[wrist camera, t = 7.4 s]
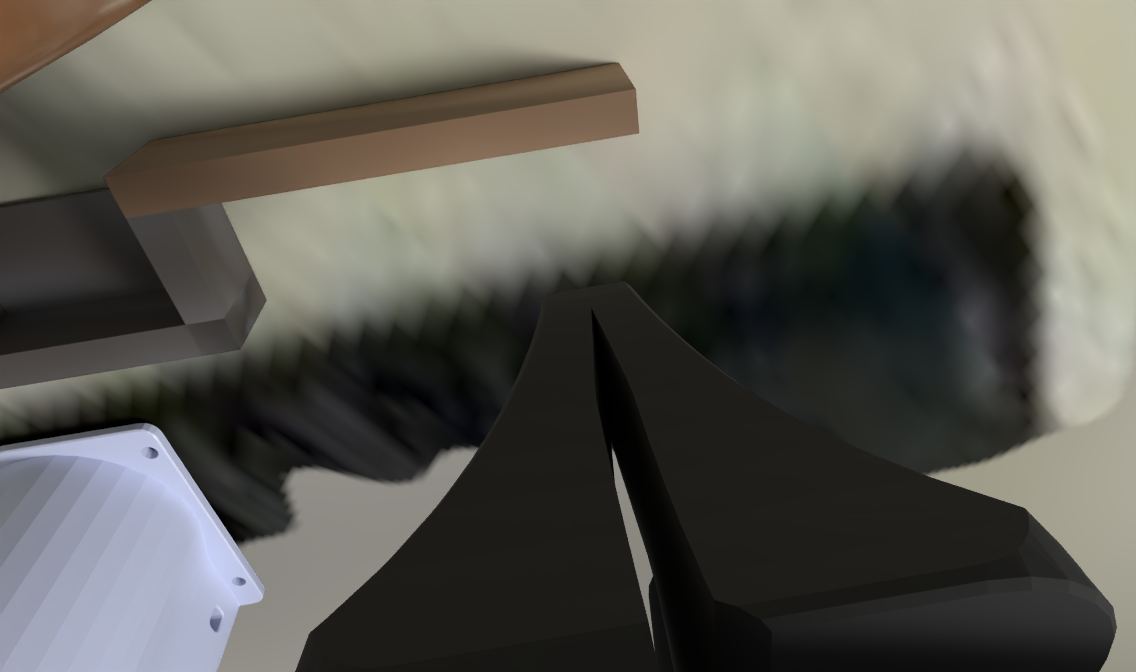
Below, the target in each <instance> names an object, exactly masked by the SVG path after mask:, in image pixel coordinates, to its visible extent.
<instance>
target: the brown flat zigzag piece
mask: <svg viewBox="0 0 1136 672" xmlns="http://www.w3.org/2000/svg"><path fill="white" fill-rule="evenodd" d="M638 133H639V125H638V112H637V99H636V89H635V87H634V86H633V84H632V82H631V81H630V79H629V78H628V76H627V75H626V73H625V72H624V70H623V69H622V67H621V65H620V64H619V63H614V64H608V65H602V66H596V67H590V68H584V69H578V70H572V71H566V72H560V73H554V74H548V75H542V76H536V77H530V78H524V79H518V80H512V81H506V82H500V83H494V84H488V85H482V86H476V87H470V88H464V89H458V90H452V91H446V92H440V93H434V94H428V95H422V96H416V97H410V98H404V99H398V100H392V101H386V102H380V103H374V104H368V105H362V106H356V107H350V108H344V109H338V110H332V111H326V112H320V113H314V114H308V115H302V116H296V117H290V118H284V119H278V120H272V121H266V122H260V123H254V124H248V125H242V126H236V127H230V128H224V129H218V130H212V131H206V132H200V133H194V134H188V135H182V136H176V137H170V138H164V139H158V140H152V141H149V142H148V143H147V144H145V145H144V146H143V147H142V148H140V149H139V150H138V151H136V152H135V153H134V154H133V155H131V156H130V157H129V158H127V159H126V160H125V161H124V162H122V163H121V164H120V165H118V166H117V167H116V168H115V169H113V170H112V171H111V172H109V173H108V174H107V175H106V176H104V177H103V179H104V180H105V182H106V184H107V186H108V188H106V189H100V190H94V191H88V192H82V193H76V194H70V195H64V196H58V197H52V198H46V199H40V200H34V201H28V202H22V203H16V204H10V205H4V206H0V389H4V388H10V387H16V386H22V385H29V384H35V383H41V382H47V381H53V380H59V379H65V378H71V377H77V376H83V375H89V374H95V373H101V372H107V371H113V370H120V369H126V368H132V367H138V366H144V365H150V364H156V363H162V362H168V361H174V360H180V359H186V358H192V357H198V356H204V355H211V354H217V353H223V352H229V351H235V350H240V349H241V347H242V346H243V344H244V342H245V340H246V338H247V336H248V334H249V332H250V331H251V329H252V327H253V325H254V323H255V321H256V319H257V317H258V316H259V314H260V312H261V310H262V308H263V306H264V304H265V302H266V301H267V300H266V298H265V296H264V294H263V291H262V289H261V287H260V285H259V283H258V281H257V279H256V276H255V274H254V272H253V270H252V268H251V266H250V264H249V262H248V259H247V257H246V255H245V253H244V251H243V249H242V247H241V244H240V242H239V240H238V238H237V236H236V234H235V232H234V229H233V227H232V225H231V223H230V221H229V219H228V217H227V214H226V212H225V210H224V208H223V206H222V204H221V203H222V202H228V201H234V200H240V199H246V198H252V197H258V196H264V195H270V194H276V193H282V192H288V191H294V190H301V189H307V188H313V187H319V186H325V185H331V184H337V183H343V182H349V181H355V180H361V179H367V178H373V177H379V176H385V175H391V174H397V173H403V172H409V171H415V170H421V169H427V168H433V167H439V166H445V165H451V164H457V163H463V162H469V161H475V160H481V159H487V158H493V157H499V156H505V155H511V154H517V153H523V152H529V151H535V150H541V149H548V148H554V147H560V146H566V145H572V144H578V143H584V142H590V141H596V140H602V139H608V138H614V137H620V136H626V135H632V134H638Z"/></svg>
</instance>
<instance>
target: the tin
mask: <svg viewBox="0 0 1136 672" xmlns="http://www.w3.org/2000/svg"><path fill="white" fill-rule="evenodd" d="M150 1H151V0H0V93H1V92H3V91H5V90H6V89H8V88H10V87H11V86H13V85H15V84H16V83H18V82H20V81H21V80H23V79H25V78H27V77H28V76H30V75H32V74H33V73H35V72H37V71H38V70H40V69H42V68H43V67H45V66H47V65H49V64H50V63H52V62H54V61H55V60H57V59H59V58H60V57H62V56H64V55H65V54H67V53H69V52H71V51H72V50H74V49H76V48H77V47H79V46H81V45H82V44H84V43H86V42H87V41H89V40H91V39H92V38H94V37H96V36H97V35H99V34H100V33H102V32H103V31H105V30H106V29H108V28H110V27H111V26H113V25H114V24H116V23H117V22H119V21H120V20H122V19H124V18H125V17H127V16H128V15H130V14H131V13H133V12H134V11H136V10H137V9H139V8H141V7H142V6H144V5H145V4H147V3H148V2H150Z"/></svg>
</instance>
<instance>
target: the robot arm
mask: <svg viewBox="0 0 1136 672" xmlns="http://www.w3.org/2000/svg"><path fill="white" fill-rule="evenodd" d="M611 442H612V446H613V449H614V452H615V455H616V458H617V461H618V465H619V468H620V470H621V474H622V477H623V480H624V483H625V486H626V489H627V492H628V495H629V499H630V502H631V505H632V508H633V511H634V514H635V517H636V520H637V523H638V527H639V530H640V533H641V536H642V539H643V542H644V545H645V549H646V552H647V554H648V558H649V562H650V566H651V569H652V573H653V576H654V580H655V584H656V588H657V593H658V598H659V602H660V607H661V611H662V616H663V621H664V625H665V630H666V634H667V639H668V643H669V648H670V653H671V657H672V662H673V667H674V671H675V672H1099V671H1100V670H1101V668H1102V666H1103V664H1104V663H1105V661H1106V659H1107V657H1108V654H1109V651H1110V648H1111V645H1112V643H1113V640H1114V637H1115V633H1116V628H1117V626H1116V620H1115V615H1114V609H1113V606H1112V605H1111V604H1110V603H1109V601H1108V600H1107V599H1106V598H1105V597H1104V596H1103V594H1102V593H1101V592H1100V591H1099V590H1098V589H1097V587H1096V586H1095V585H1094V584H1093V583H1092V582H1091V580H1090V579H1089V578H1088V577H1087V576H1086V575H1085V573H1084V572H1083V571H1082V569H1081V568H1080V567H1079V566H1078V564H1077V563H1076V562H1075V561H1074V560H1073V558H1072V557H1071V556H1070V555H1069V554H1068V553H1067V551H1065V549H1064V548H1063V547H1062V546H1061V544H1059V542H1057V540H1055V538H1054V537H1053V536H1052V535H1051V534H1050V533H1049V532H1047V530H1046V529H1045V528H1044V527H1043V526H1042V525H1041V524H1040V523H1039V522H1038V521H1037V520H1036V519H1035V518H1034V517H1033V516H1032V515H1031V514H1030V513H1029V512H1028V511H1027V510H1026V509H1025V508H1023V507H1020V506H1017V505H1014V504H1011V503H1008V502H1005V501H1001V500H998V499H995V498H992V497H989V496H986V495H983V494H980V493H977V492H974V491H971V490H968V489H965V488H962V487H959V486H955V485H952V484H949V483H946V482H943V481H940V480H937V479H934V478H931V477H928V476H926V475H923V474H920V473H918V472H915V471H913V470H910V469H908V468H905V467H903V466H900V465H898V464H895V463H893V462H890V461H888V460H885V459H883V458H880V457H878V456H875V455H873V454H870V453H868V452H866V451H863V450H861V449H859V448H857V447H854V446H852V445H850V444H848V443H845V442H843V441H841V440H839V439H837V438H835V437H833V436H831V435H829V434H827V433H825V432H823V431H821V430H819V429H817V428H815V427H813V426H811V425H809V424H807V423H805V422H803V421H801V420H799V419H797V418H795V417H793V416H791V415H790V414H788V413H786V412H784V411H782V410H781V409H779V408H777V407H775V406H774V405H772V404H770V403H769V402H767V401H766V400H764V399H762V398H761V397H759V396H757V395H756V394H754V393H753V392H751V391H749V390H748V389H747V388H745V387H744V386H742V385H741V384H739V383H738V382H736V381H735V380H734V379H732V378H731V377H729V376H728V375H727V374H725V373H724V372H723V371H721V370H720V369H719V368H718V367H716V366H715V365H714V364H712V363H711V362H710V361H708V360H707V359H706V358H705V357H703V356H702V355H701V354H700V353H699V352H697V351H696V350H695V349H694V348H693V347H691V346H690V345H689V344H688V343H687V342H686V341H685V340H684V339H682V338H681V337H680V336H679V335H678V334H677V333H676V332H674V331H673V330H672V329H671V328H670V327H669V326H668V325H667V324H666V323H665V322H664V321H663V320H662V319H661V318H660V317H659V316H658V315H657V314H656V313H655V312H654V311H653V310H652V309H651V308H650V307H649V306H648V305H647V304H646V303H645V302H644V301H643V300H642V299H641V298H640V296H639V295H638V294H637V293H636V292H635V291H634V289H633V288H632V287H631V286H630V285H628V284H627V283H625V282H624V281H622V282H616V283H610V284H605V285H599V286H593V287H587V288H582V289H576V290H570V291H564V292H559V293H553V294H547V296H546V297H545V298H544V299H543V301H542V302H541V310H540V315H539V319H538V323H537V327H536V330H535V333H534V336H533V339H532V342H531V345H530V348H529V350H528V353H527V355H526V358H525V360H524V363H523V365H522V368H521V370H520V373H519V375H518V377H517V379H516V381H515V383H514V386H513V388H512V390H511V392H510V394H509V396H508V398H507V400H506V402H505V404H504V406H503V408H502V410H501V412H500V414H499V415H498V417H497V419H496V421H495V423H494V424H493V426H492V428H491V429H490V431H489V433H488V435H487V436H486V438H485V439H484V441H483V443H482V444H481V446H480V447H479V449H478V450H477V452H476V453H475V455H474V457H473V458H472V460H471V461H470V462H469V464H468V465H467V467H466V468H465V469H464V471H463V472H462V474H461V475H460V476H459V478H458V479H457V481H456V482H455V483H454V485H453V486H452V487H451V489H450V490H449V491H448V493H447V494H446V495H445V497H444V498H443V499H442V500H441V502H440V503H439V504H438V505H437V507H436V508H435V509H434V510H433V511H432V513H431V514H430V515H429V516H428V517H427V518H426V520H425V521H424V522H423V523H422V524H421V525H420V526H419V527H418V528H417V530H416V531H415V532H414V533H413V534H412V535H411V536H410V537H409V538H408V540H407V541H406V542H405V543H404V544H403V545H402V546H401V548H400V549H399V550H398V551H397V552H396V553H395V554H394V555H393V556H392V557H391V558H390V560H389V561H388V562H387V563H386V564H385V565H384V566H383V567H382V568H381V569H380V570H379V571H378V572H377V573H375V574H374V575H373V576H372V577H371V578H370V579H369V580H368V581H367V582H366V583H365V584H364V585H362V586H361V587H360V588H359V589H358V590H357V591H356V592H355V593H354V594H353V595H352V596H350V597H349V598H348V599H347V600H346V601H345V602H344V603H343V604H342V605H341V606H340V607H338V608H337V609H336V610H335V611H334V612H333V613H332V614H331V615H330V616H329V617H328V618H327V619H325V620H324V621H323V622H322V623H321V624H320V625H318V626H317V627H316V628H315V629H314V630H313V631H311V632H310V634H309V636H308V639H307V641H306V644H305V647H304V649H303V652H302V655H301V658H300V660H299V663H298V666H297V668H296V671H295V672H659V669H658V665H657V660H656V655H655V651H654V647H653V641H652V636H651V632H650V627H649V622H648V618H647V614H646V610H645V607H644V603H643V599H642V595H641V591H640V587H639V583H638V579H637V575H636V571H635V567H634V563H633V558H632V554H631V550H630V546H629V542H628V538H627V534H626V530H625V525H624V521H623V517H622V513H621V508H620V504H619V500H618V496H617V491H616V487H615V480H614V469H613V459H612V448H611ZM149 447H151V448H154V449H156V450H153V449H150V448H149ZM264 592H265V587H264V586H263V584H262V583H261V581H260V580H259V578H258V577H257V575H256V574H255V572H254V571H253V569H252V568H251V566H250V565H249V563H248V562H247V560H246V559H245V557H244V555H243V554H242V552H241V551H240V549H239V548H238V546H237V545H236V543H235V542H234V540H233V539H232V537H231V536H230V534H229V533H228V531H227V530H226V528H225V527H224V525H223V524H222V522H221V521H220V519H219V518H218V516H217V515H216V513H215V512H214V510H213V509H212V507H211V506H210V504H209V503H208V501H207V500H206V498H205V497H204V495H203V494H202V492H201V490H200V489H199V487H198V486H197V484H196V483H195V481H194V480H193V478H192V477H191V475H190V474H189V472H188V471H187V469H186V468H185V466H184V465H183V463H182V462H181V460H180V459H179V457H178V456H177V454H176V453H175V451H174V450H173V448H172V447H171V445H170V444H169V442H168V441H167V439H166V438H165V436H164V435H163V433H162V432H161V431H160V430H159V429H158V428H157V427H155V426H154V425H151V424H147V423H137V424H131V425H125V426H119V427H113V428H107V429H101V430H95V431H89V432H83V433H76V434H70V435H64V436H58V437H52V438H46V439H40V440H34V441H28V442H22V443H16V444H10V445H3V446H0V672H217V669H218V667H219V663H220V661H221V658H222V655H223V652H224V649H225V646H226V643H227V641H228V638H229V635H230V632H231V629H232V626H233V623H234V621H235V618H236V615H237V612H238V609H239V606H241V605H247V604H253V603H257V602H259V601H261V600H262V598H263V596H264Z"/></svg>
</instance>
